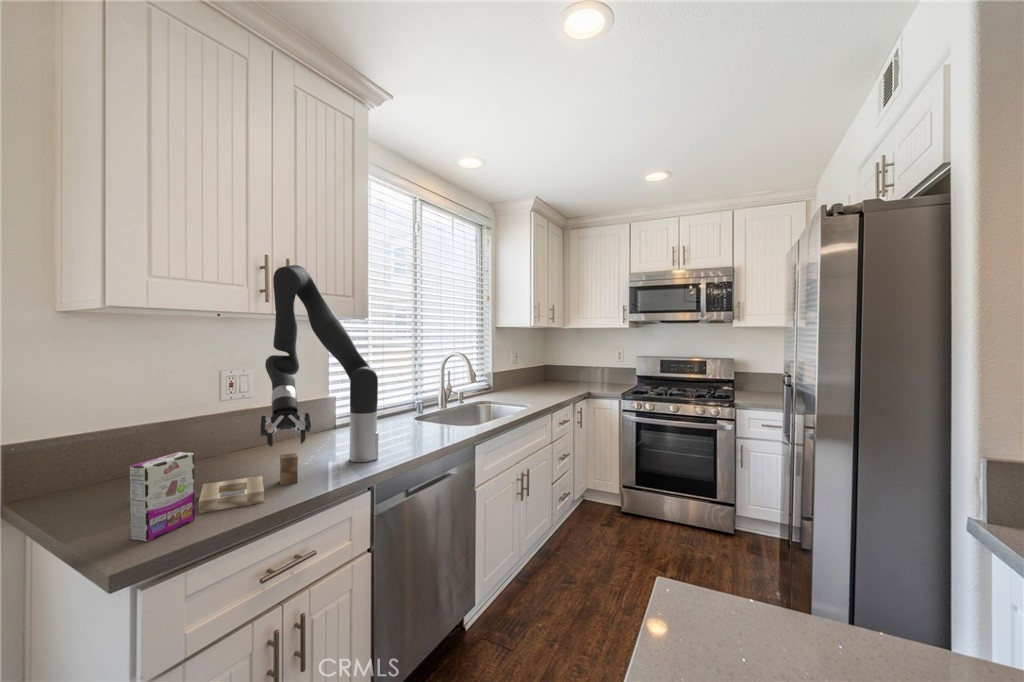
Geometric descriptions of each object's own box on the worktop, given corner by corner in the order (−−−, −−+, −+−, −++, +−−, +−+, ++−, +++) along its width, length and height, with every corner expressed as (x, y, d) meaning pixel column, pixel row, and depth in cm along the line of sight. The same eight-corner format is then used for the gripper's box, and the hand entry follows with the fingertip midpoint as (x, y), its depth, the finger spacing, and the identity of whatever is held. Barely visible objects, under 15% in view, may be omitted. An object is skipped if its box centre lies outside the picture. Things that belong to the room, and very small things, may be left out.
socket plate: (261, 485, 125) (261, 475, 125) (263, 502, 113) (264, 490, 113) (203, 494, 117) (203, 483, 117) (198, 513, 105) (198, 500, 105)
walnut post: (295, 478, 132) (296, 453, 131) (297, 482, 128) (297, 456, 128) (279, 481, 129) (280, 454, 129) (280, 485, 125) (281, 458, 125)
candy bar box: (178, 518, 102) (178, 451, 102) (195, 520, 101) (195, 452, 101) (127, 540, 91) (128, 464, 91) (146, 543, 90) (146, 466, 90)
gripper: (260, 396, 136) (260, 439, 126) (309, 394, 143) (313, 434, 134) (259, 410, 140) (260, 453, 131) (306, 407, 148) (310, 447, 138)
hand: (286, 443), depth 132 cm, fingers open, 8 cm apart
